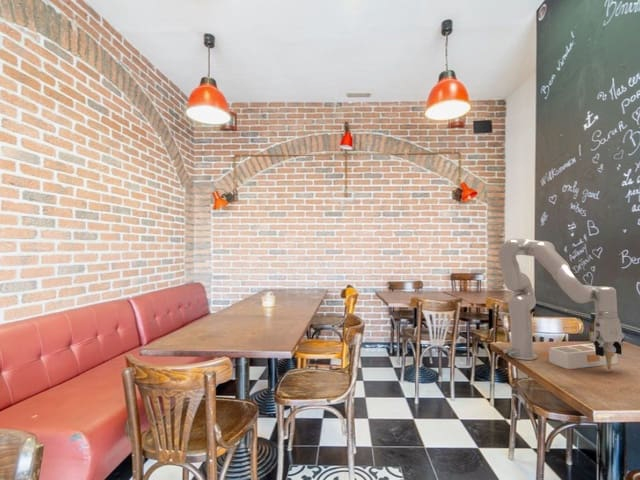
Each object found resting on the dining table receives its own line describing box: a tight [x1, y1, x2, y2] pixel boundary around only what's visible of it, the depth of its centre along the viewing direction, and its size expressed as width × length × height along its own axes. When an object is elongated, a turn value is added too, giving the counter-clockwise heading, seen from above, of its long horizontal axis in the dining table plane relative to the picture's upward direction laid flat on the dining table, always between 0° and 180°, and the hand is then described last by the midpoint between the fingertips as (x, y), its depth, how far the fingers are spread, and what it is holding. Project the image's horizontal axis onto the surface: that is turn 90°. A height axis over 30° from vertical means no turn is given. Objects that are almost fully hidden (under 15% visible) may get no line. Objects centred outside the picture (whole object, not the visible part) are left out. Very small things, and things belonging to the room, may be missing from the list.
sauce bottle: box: [588, 312, 600, 344], centre depth 180 cm, size 7×6×20 cm
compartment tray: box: [548, 343, 619, 370], centre depth 163 cm, size 28×11×7 cm, turn 101°
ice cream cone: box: [602, 342, 616, 373], centre depth 151 cm, size 6×6×15 cm
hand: (608, 354), depth 150 cm, fingers open, 9 cm apart
